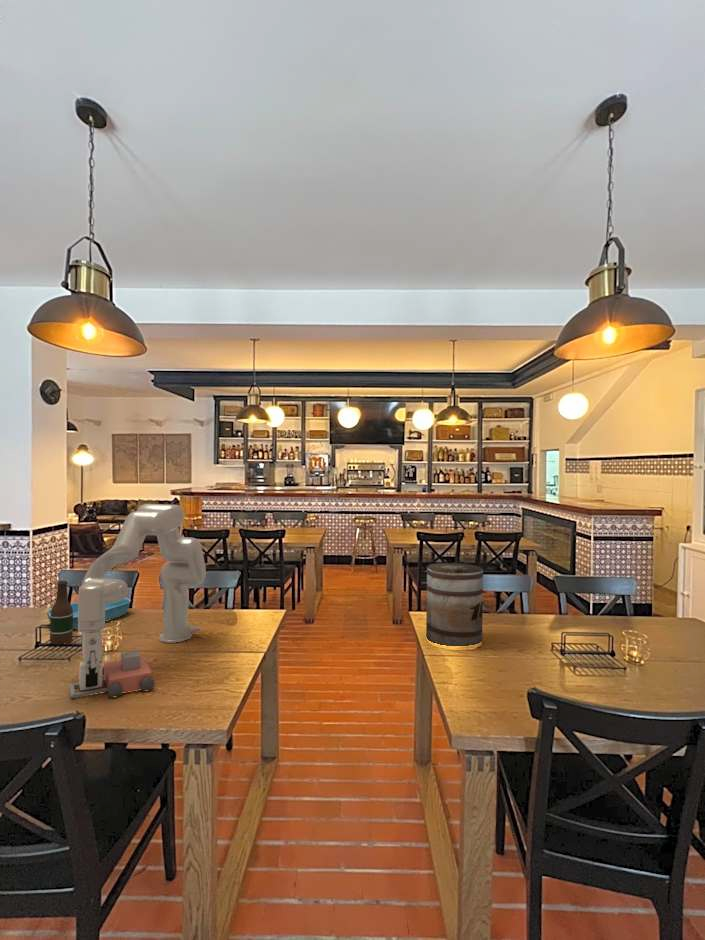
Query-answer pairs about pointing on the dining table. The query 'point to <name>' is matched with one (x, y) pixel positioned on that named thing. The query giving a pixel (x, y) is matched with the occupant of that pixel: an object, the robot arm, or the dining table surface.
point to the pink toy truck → (122, 676)
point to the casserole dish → (110, 610)
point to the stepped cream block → (83, 676)
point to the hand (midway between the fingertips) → (90, 682)
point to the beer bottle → (61, 617)
